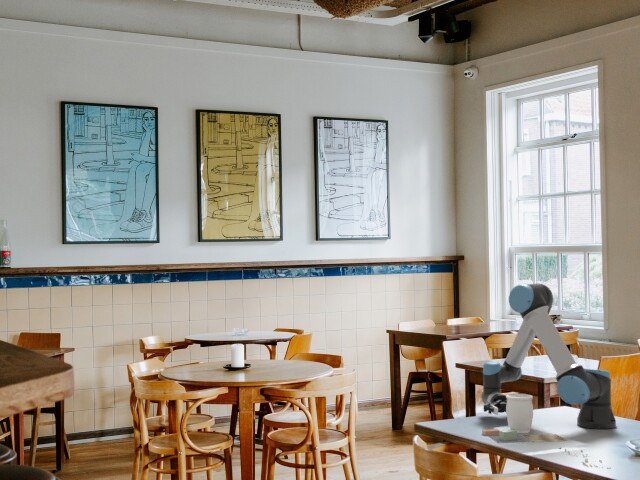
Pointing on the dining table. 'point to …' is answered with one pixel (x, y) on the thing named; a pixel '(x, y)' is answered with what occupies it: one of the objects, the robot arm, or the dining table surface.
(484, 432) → the terracotta brick
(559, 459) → the dining table surface
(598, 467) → the scattered white crumbs
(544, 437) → the sand pile
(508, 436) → the sage brick
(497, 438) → the slate board
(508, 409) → the jar
